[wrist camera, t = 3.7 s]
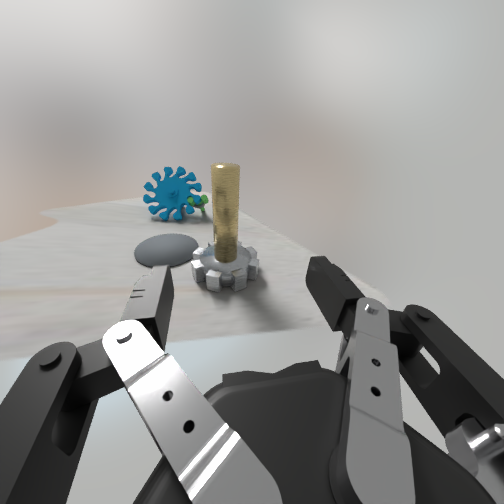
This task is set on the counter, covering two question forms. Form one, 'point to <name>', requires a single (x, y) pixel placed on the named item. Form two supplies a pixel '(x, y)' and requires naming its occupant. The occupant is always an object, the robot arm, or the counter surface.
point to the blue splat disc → (174, 194)
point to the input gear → (225, 237)
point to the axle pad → (166, 250)
